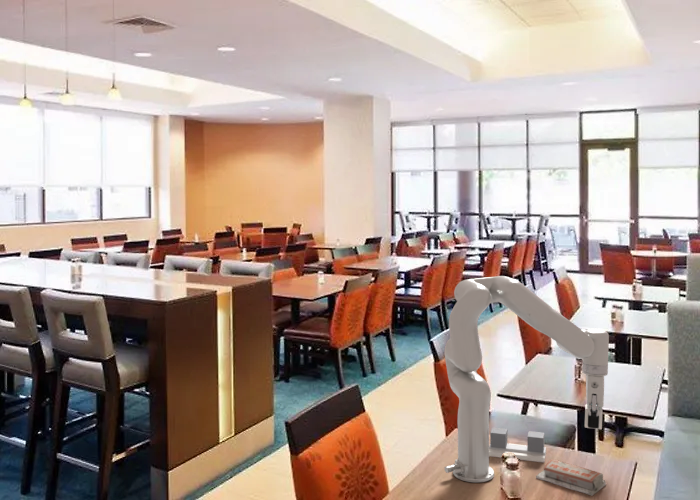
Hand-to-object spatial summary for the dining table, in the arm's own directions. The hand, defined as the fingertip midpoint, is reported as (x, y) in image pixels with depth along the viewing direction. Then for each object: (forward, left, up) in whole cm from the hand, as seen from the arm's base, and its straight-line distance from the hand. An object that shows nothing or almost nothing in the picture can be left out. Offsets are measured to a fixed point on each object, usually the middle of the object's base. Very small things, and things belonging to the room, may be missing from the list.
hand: (593, 424), depth 210 cm
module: (0, 0, -1) cm, 1 cm away
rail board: (-16, +18, -13) cm, 27 cm away
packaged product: (-15, -6, -14) cm, 21 cm away
